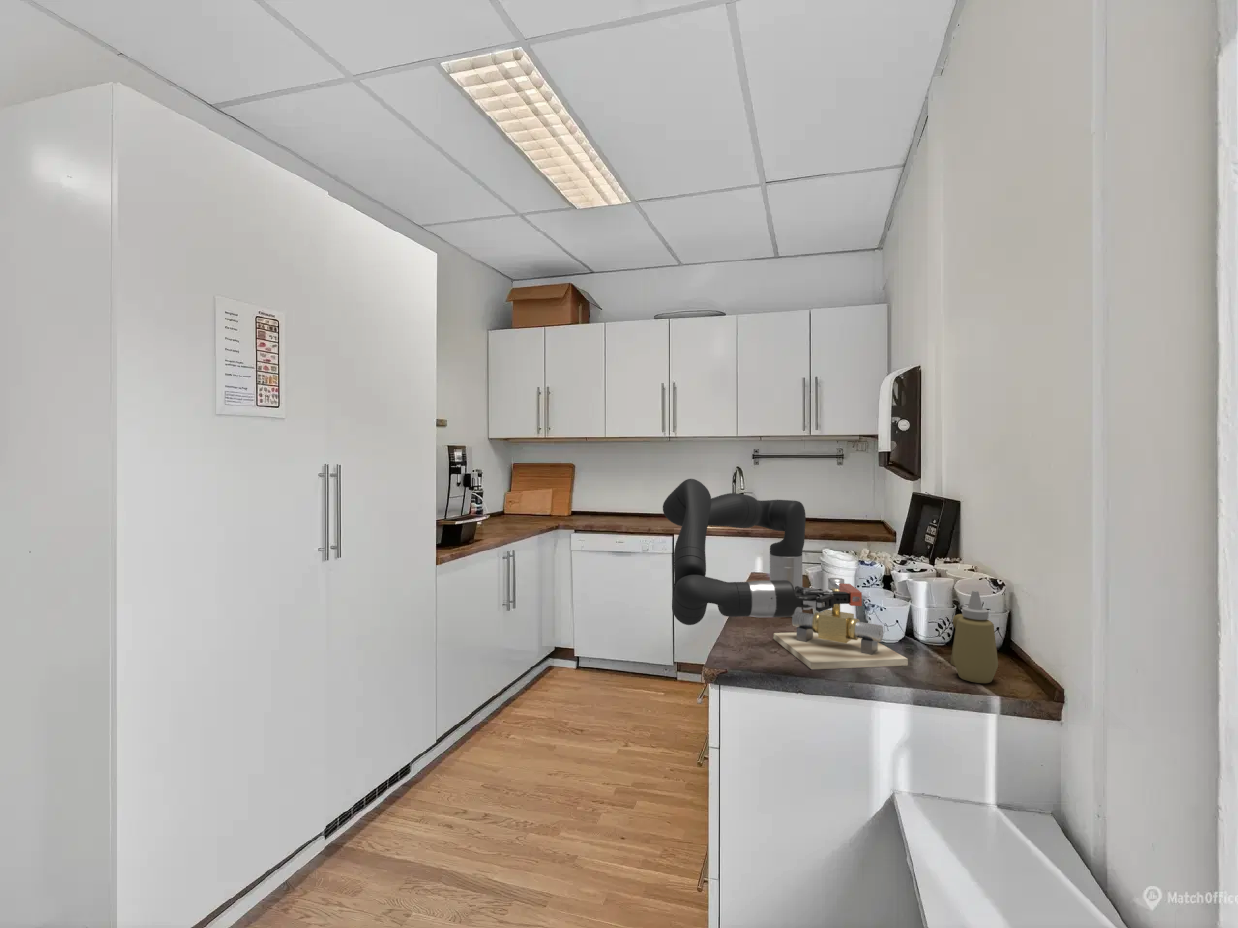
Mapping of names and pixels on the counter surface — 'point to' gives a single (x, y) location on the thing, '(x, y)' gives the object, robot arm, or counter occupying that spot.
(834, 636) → the valve and pipe
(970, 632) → the squeeze bottle
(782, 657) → the counter surface
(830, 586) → the lever
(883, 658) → the base board
